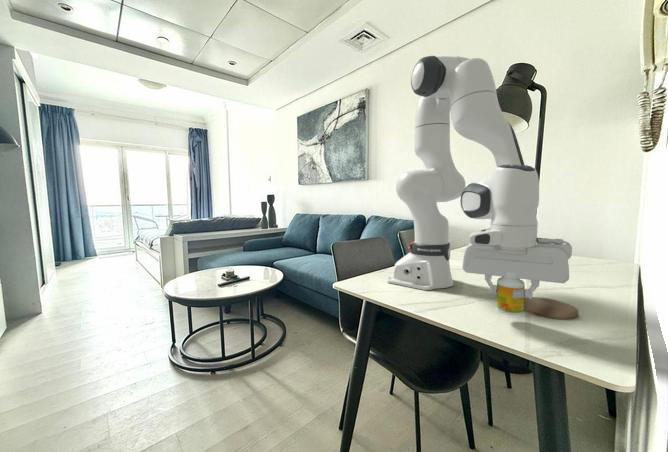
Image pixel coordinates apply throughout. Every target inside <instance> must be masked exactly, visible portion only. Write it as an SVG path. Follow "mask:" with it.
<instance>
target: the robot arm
mask: <svg viewBox="0 0 668 452" xmlns="http://www.w3.org/2000/svg"><path fill="white" fill-rule="evenodd" d="M410 84H411V85H410V86H411V89H412V91H413V93H414V94H415V95H417V96H420V97H419V99H418V101H417V105H416V110H415V111H416V112H415V116H414V117H415V118H414V154H415V155H416V156H417V157H418V158H419V159H420V160H421V161H422V162H423V165H424V167H425V169H415V170H411V171H407V172H403V173H402V174H401V175H400V176H399V177H398V179H397V181H396V183H395V184H396V185H395V189H396V194H397V196H398V198H399V199H400V200H401V201H402V202H403V203H404V204H405V205H406V206H407V208H408V209H409V211H410V214H411V217H412V220H413V228H414V241H412V242H410V243H409V245H408V250H409V251H408V253H407V254H406V255H404V256H403V257H401V258H400V259H399V260H397V261H396V262H395V264H394V266H393V270H392V271H393V272H392V273H390V274H389V275H387V277H386V282H387V283H388V284H393V285H398V286H403V287H408V288H413V289H419V290H421V291H422V290H423V291H431V290H436V289H446V288H449V287H452V286H454V285H455V284H454V280H453V276H452V272H451V266H450V259H451V243H450V242H449V233H450V232H449V220H448V218H447V217H446V216H444V215H443V214H442V213H441V211H440V210H439V208H438V207H439V206H438V205H437V204H438V203H447V202H452V201H454V200H457V199H459V198H460V207H461V210H462V212H463V214H465V215H466V217H468V218H470V219H474V220H491V221H490V228H485V229H480V230H477V231H473V232H471V233H470V234H469V237H468V241H469V243H468V245H467V246H466V248H465V250H464V254H463V258H462V259H463V260H462V269H463V271H464V272H465V273H466V274H467V273H468V274H475V275H484V280H485V282H486V284H488V287H489V294H494V295H497V284H494V283H493V282H492V278H493V277H492V276H495V277H500V278H501V277H505V276H506V275H507V272H511V273H516V277H517V278H519V279H520V280H529V281H530V284H531V286H529V288H525V289H524V298H527V299H532V297H533V293H534V292H535V291H536V290H537V289H538V288H539V286H540V282H546V283H557V284H566V283H567V282H568V281H569V280H570V266H569V265H570V264H569V259H571V258H572V254H573V253H572V252H573V246H572V245H571V243H570V242H569V241H566V240H564V239H562V238H547V237H546V238H545V237H538V226H539V225H538V224H539V223H538V220H537V219H538V218H537V209H538V208H539V204H540V179H539V175H538V171H537V169H536V168H535V167H534V166H533V167H532V166H531V165H526V164H525V162H524V158H523V155H522V151H521V149H520V148H521V147H520V145H519V141H518V139H517V135H516V133H515V132H516V131H515V130H514V128H513V126H512V125H511V124H510V122H509V121H508V120H507V119H506V117H505V115H504V113H503V111H502V108H501V106H500V103H499V100H498V95H497V94H498V93H497V87H496V83H495V80H494V76H493V73H492V70H491V67H490V65H489V64H488V61H486V60H485V59H483V58H480V57H479V58H469V57H463V56H458V55H453V56H452V55H450V56H449V55H448V56H447V55H446V56H444V55H443V56H436V55H429V56H423V57H421V58H420V59H419V60H418V61H417V63H415V65H414V67H413V70H412V72H411V77H410ZM451 123H452V126H453V128H454V130H455V132H457V133H458V135H460V136H461V137H463V138H465V139H467V140H470V141H473V142H476V143H478V144H480V145H482V146H483V147H485V148H486V149H488V150H489V151H490V152H491V154H492V155H493V157H494V161H495V166H496V167H495V168H494V169H493V171H492V172H491V173H490V174H489V175H487V176H486V177H484V178H481V179H480V180H477V181H475V182H470V183H469V184H468V185H466V179H465V178H464V176H463V175H462V173H460V172H459V170H458V169H457V167H456V166H455V163H454V160H453V157H452V153H451V140H450V139H451V134H450V133H451V130H450V129H451Z"/></svg>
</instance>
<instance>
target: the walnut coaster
mask: <svg viewBox="0 0 668 452" xmlns="http://www.w3.org/2000/svg"><path fill="white" fill-rule="evenodd" d="M523 311H525V312H527V313H529V314H532V315H535V316H539V317H542V318H546V319H547V318H548V319H553V320H554V319H555V320H573V319H576V318H578V317H579V313H580V311H579V309H578V308H577V307H576V306H574V305H572V304H570V303H568V302H565V301H562V300H557V299H553V298H547V297H537V296H536V297H535V296H532V299H527V298H524V309H523Z"/></svg>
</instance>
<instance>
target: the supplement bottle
mask: <svg viewBox="0 0 668 452" xmlns="http://www.w3.org/2000/svg"><path fill="white" fill-rule="evenodd" d="M496 285H497V294H496V296H495V297H496V299H495V300H496V302H495V309H496V310H497V311H498V312H500V313H502V314H505V315H508V316H509V315H510V316H520V315H522V314H523V313H524V310H523V309H524V289H526V288H525V285H526V284H525V282H524V280H523V279H519V278H517V277H516V273H511V272H507V275H506V276H505V277H501V276H500V277H499V278H497V280H496Z"/></svg>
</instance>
